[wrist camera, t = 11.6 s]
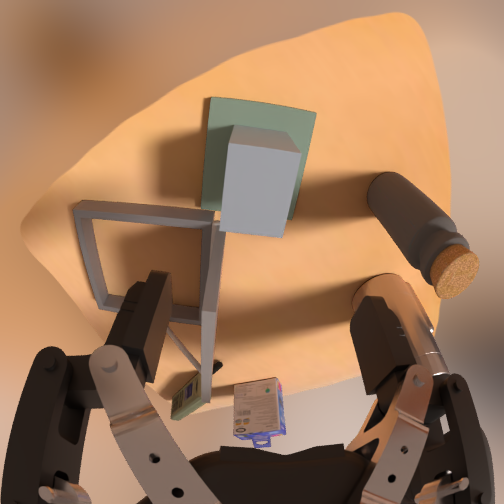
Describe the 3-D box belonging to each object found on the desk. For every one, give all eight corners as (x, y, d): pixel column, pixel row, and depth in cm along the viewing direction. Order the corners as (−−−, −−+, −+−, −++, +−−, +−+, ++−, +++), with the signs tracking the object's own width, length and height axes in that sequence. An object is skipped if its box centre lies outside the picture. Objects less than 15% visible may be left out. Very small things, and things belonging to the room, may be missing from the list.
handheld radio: (170, 395, 60) (211, 355, 47) (182, 398, 61) (227, 360, 48) (168, 418, 54) (210, 387, 42) (180, 421, 56) (227, 391, 43)
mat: (314, 112, 24) (316, 113, 23) (290, 216, 31) (291, 220, 30) (212, 96, 23) (211, 97, 22) (201, 205, 30) (200, 209, 29)
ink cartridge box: (242, 393, 57) (241, 450, 45) (232, 384, 54) (230, 445, 42) (283, 386, 55) (288, 445, 43) (276, 376, 52) (280, 440, 40)
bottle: (396, 220, 31) (457, 306, 19) (358, 208, 30) (417, 301, 18) (415, 180, 27) (493, 255, 15) (377, 164, 27) (458, 239, 14)
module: (286, 132, 24) (301, 153, 18) (274, 196, 28) (282, 238, 22) (234, 124, 24) (228, 143, 17) (226, 190, 28) (219, 230, 21)
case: (82, 200, 28) (14, 276, 17) (228, 212, 30) (216, 312, 18) (105, 302, 39) (74, 378, 27) (217, 319, 41) (209, 406, 29)
